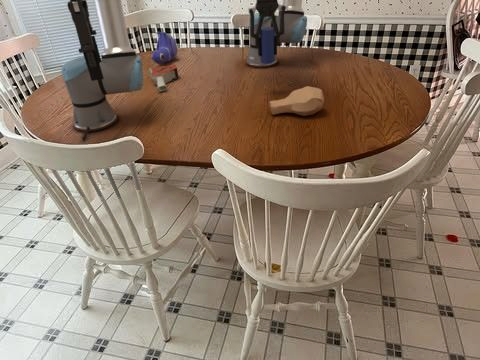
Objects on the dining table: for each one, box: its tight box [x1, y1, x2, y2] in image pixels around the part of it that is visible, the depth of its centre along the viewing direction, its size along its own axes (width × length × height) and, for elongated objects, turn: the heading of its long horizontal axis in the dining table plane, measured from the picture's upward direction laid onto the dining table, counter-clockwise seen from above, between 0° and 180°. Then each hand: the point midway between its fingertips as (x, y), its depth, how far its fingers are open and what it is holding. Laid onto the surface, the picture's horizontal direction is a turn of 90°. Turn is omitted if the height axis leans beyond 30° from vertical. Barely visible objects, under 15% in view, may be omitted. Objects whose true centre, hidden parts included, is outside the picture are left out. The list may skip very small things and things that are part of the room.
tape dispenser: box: [148, 64, 179, 93], centre depth 162 cm, size 18×5×20 cm
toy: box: [150, 31, 178, 67], centre depth 182 cm, size 10×17×25 cm
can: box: [260, 27, 274, 64], centre depth 137 cm, size 6×6×12 cm
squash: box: [268, 85, 325, 117], centre depth 129 cm, size 11×20×9 cm, turn 92°
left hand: (97, 70), depth 88 cm, fingers open, 13 cm apart
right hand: (267, 54), depth 139 cm, fingers closed on can, 5 cm apart
